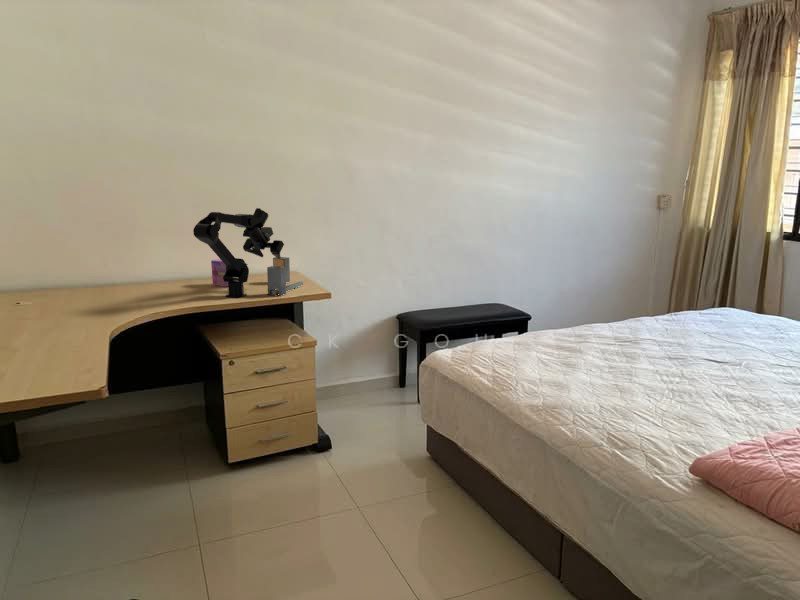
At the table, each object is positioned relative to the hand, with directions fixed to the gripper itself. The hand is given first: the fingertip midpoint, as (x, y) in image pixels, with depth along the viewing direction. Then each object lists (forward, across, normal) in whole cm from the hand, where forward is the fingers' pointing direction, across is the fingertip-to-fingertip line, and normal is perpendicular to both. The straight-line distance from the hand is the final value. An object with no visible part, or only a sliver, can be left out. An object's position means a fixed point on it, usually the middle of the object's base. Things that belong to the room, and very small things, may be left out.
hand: (271, 257), depth 274 cm
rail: (+5, -13, +14) cm, 19 cm away
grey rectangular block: (+15, 0, +4) cm, 15 cm away
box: (+3, +19, +16) cm, 25 cm away
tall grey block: (-2, -13, +20) cm, 24 cm away
